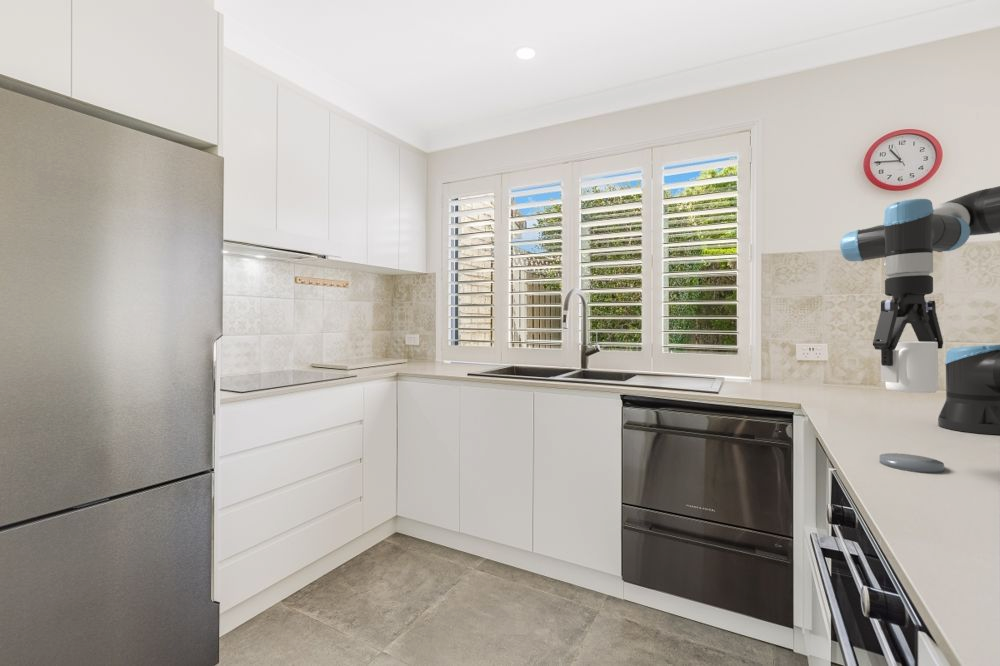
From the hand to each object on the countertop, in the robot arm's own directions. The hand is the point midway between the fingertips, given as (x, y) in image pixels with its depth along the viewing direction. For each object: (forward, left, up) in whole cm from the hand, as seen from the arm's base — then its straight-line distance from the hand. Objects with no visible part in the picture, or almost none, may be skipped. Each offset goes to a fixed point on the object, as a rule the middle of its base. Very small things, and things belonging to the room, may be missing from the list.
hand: (909, 380), depth 96 cm
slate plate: (0, 0, -18) cm, 18 cm away
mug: (0, 0, -2) cm, 2 cm away
